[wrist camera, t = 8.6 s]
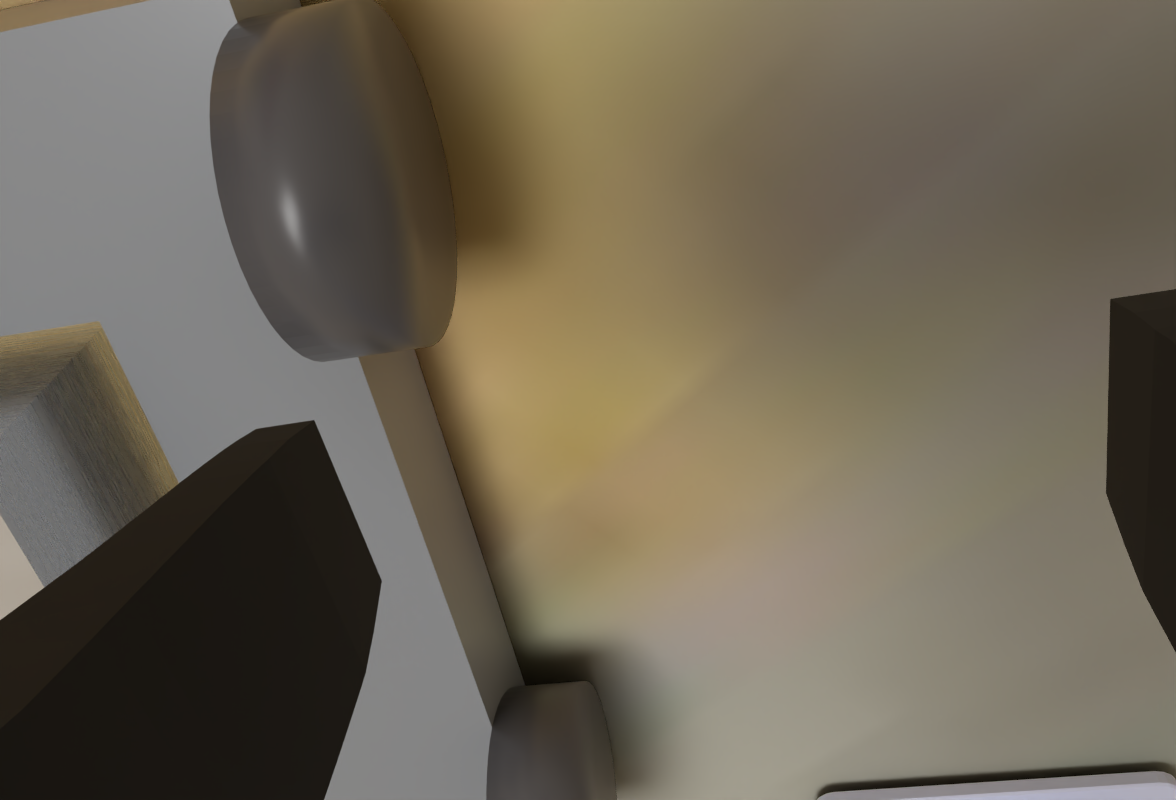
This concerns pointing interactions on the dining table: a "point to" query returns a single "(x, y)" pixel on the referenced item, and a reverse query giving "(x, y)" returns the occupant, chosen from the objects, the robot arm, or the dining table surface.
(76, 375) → the beige block
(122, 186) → the chassis
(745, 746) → the dining table surface
